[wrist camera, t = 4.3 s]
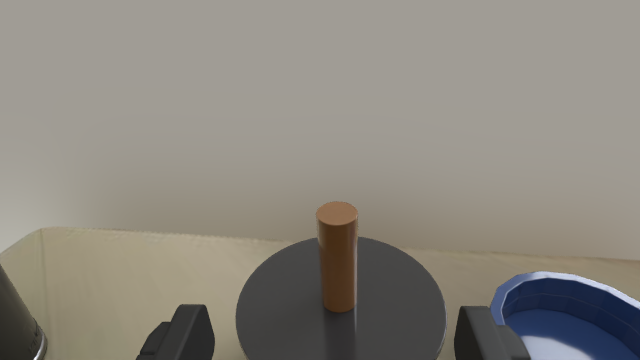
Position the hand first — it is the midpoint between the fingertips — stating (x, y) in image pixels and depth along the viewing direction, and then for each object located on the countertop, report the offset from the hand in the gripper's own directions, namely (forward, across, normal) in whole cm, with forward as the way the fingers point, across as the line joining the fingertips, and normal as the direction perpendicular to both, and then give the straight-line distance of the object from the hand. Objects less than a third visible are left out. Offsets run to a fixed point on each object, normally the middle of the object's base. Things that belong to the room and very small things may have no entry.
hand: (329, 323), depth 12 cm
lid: (+11, 0, +11) cm, 16 cm away
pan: (+12, -19, +20) cm, 30 cm away
